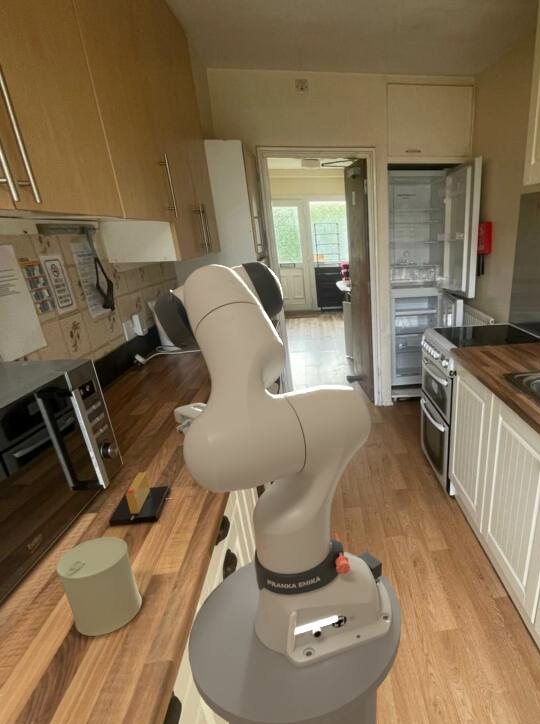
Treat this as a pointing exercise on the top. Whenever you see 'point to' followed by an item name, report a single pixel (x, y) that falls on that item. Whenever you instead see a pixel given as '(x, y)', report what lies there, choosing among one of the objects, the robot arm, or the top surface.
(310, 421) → the robot arm
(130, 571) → the can
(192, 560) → the top surface
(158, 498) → the lock plate
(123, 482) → the top surface
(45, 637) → the top surface
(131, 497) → the lock turn
